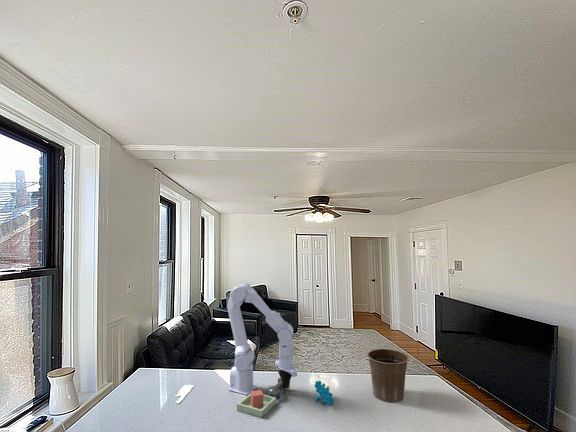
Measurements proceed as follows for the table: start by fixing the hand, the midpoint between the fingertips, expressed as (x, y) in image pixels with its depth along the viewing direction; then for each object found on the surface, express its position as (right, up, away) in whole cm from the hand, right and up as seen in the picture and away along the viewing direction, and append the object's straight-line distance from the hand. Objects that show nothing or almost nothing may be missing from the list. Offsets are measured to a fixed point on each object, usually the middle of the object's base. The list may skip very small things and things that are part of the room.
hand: (285, 388), depth 140 cm
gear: (+15, -2, -7) cm, 17 cm away
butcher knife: (-43, -2, -2) cm, 43 cm away
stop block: (-11, -1, -12) cm, 16 cm away
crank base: (-4, -2, -3) cm, 5 cm away
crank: (-3, -1, -1) cm, 4 cm away
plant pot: (+42, -2, -2) cm, 42 cm away
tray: (-11, -1, -12) cm, 16 cm away
